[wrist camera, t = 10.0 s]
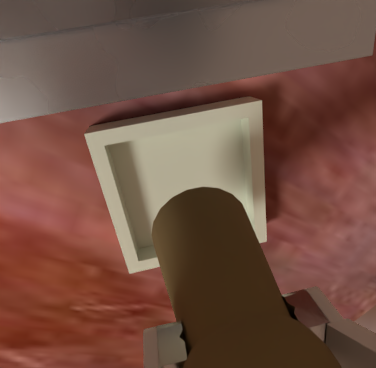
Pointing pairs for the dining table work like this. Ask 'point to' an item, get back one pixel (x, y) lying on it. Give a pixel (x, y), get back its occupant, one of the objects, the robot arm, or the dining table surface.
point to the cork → (227, 288)
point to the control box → (163, 46)
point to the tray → (178, 166)
